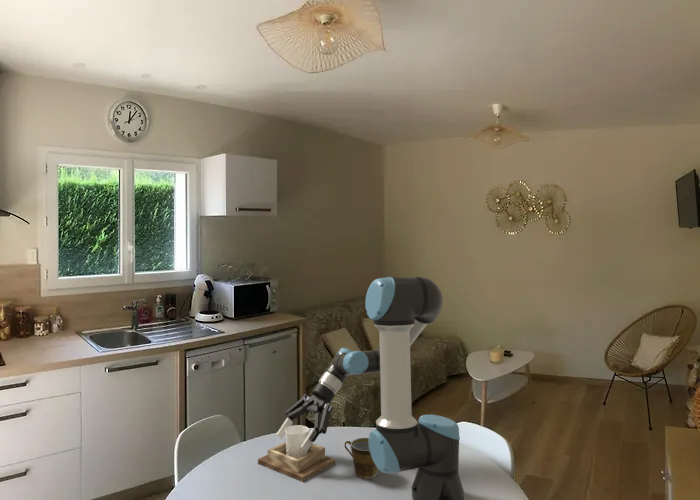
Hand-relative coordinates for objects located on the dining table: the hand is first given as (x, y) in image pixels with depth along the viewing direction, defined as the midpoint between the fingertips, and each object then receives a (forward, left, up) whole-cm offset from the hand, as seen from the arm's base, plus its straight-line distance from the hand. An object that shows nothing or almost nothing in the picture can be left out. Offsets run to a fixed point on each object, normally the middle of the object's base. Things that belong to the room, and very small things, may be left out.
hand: (290, 442), depth 170 cm
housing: (0, -2, -8) cm, 8 cm away
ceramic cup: (-21, -10, -8) cm, 25 cm away
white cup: (-1, -2, -6) cm, 7 cm away
